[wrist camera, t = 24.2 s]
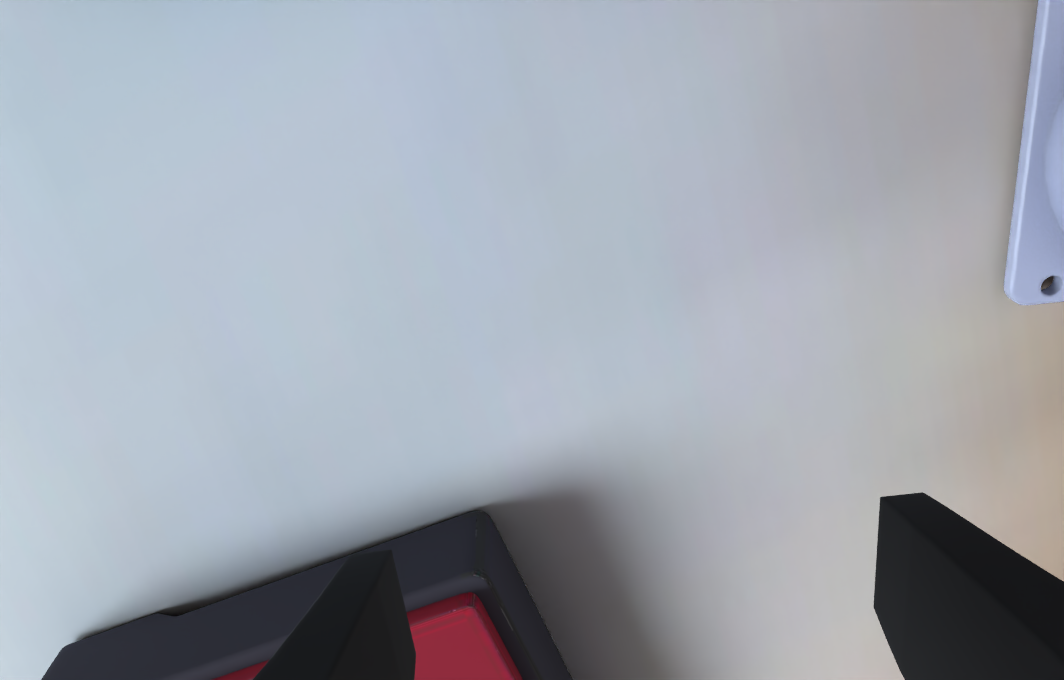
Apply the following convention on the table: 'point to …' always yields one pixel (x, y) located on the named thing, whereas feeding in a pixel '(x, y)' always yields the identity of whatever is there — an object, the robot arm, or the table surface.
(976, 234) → the table surface
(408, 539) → the grey and red box
